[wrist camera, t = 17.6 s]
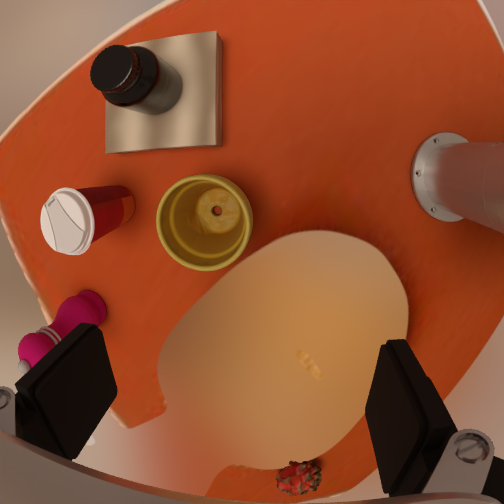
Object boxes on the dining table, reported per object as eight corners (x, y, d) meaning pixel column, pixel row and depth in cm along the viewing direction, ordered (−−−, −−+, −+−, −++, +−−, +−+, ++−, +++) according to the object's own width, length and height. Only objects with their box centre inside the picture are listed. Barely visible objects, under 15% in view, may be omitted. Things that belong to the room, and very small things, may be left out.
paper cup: (90, 194, 43) (28, 210, 30) (127, 168, 42) (68, 175, 28) (112, 239, 45) (57, 269, 31) (151, 216, 43) (99, 241, 30)
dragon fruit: (323, 448, 55) (284, 465, 60) (297, 456, 50) (257, 472, 55) (337, 482, 50) (296, 495, 55) (313, 493, 44) (270, 505, 49)
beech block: (222, 41, 35) (216, 31, 32) (221, 146, 40) (215, 144, 36) (122, 56, 37) (109, 49, 33) (119, 153, 41) (105, 153, 37)
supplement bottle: (124, 96, 35) (70, 80, 23) (157, 55, 33) (113, 24, 22) (158, 126, 36) (110, 116, 24) (195, 84, 34) (158, 55, 22)
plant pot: (184, 247, 44) (159, 271, 35) (179, 173, 41) (151, 178, 32) (259, 247, 43) (252, 272, 34) (257, 170, 40) (249, 172, 31)
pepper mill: (99, 332, 50) (35, 401, 31) (70, 305, 49) (-2, 364, 30) (116, 307, 48) (45, 377, 29) (84, 278, 47) (5, 335, 28)
